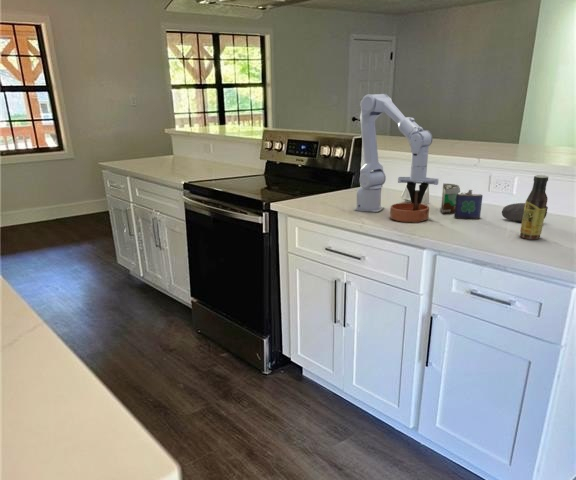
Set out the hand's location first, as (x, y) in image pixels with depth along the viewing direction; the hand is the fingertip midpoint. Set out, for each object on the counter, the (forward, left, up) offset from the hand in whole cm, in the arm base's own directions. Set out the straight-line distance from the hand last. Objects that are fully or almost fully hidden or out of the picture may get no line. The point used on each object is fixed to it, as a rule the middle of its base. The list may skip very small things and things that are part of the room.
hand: (416, 203), depth 189 cm
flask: (+18, +8, -6) cm, 20 cm away
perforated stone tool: (+37, +9, -6) cm, 38 cm away
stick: (0, 0, -3) cm, 3 cm away
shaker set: (-7, +28, -6) cm, 29 cm away
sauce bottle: (+41, -12, -6) cm, 43 cm away
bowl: (-2, 0, -6) cm, 6 cm away
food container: (+10, +17, -6) cm, 20 cm away
